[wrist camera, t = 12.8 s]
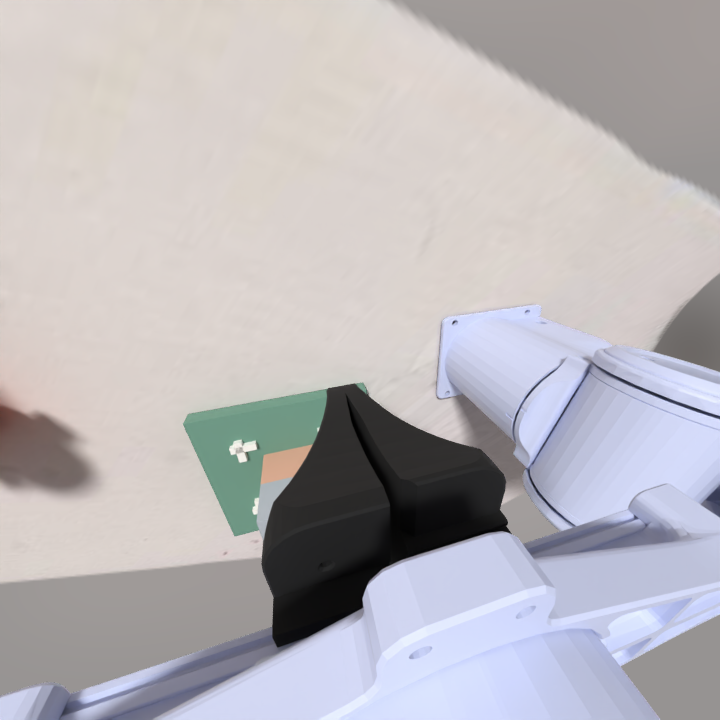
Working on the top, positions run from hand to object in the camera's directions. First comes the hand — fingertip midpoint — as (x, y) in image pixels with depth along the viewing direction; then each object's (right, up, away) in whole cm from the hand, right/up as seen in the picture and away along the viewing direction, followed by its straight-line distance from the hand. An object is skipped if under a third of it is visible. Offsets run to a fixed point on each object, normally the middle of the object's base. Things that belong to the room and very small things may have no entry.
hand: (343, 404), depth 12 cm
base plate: (-5, -7, +13) cm, 16 cm away
